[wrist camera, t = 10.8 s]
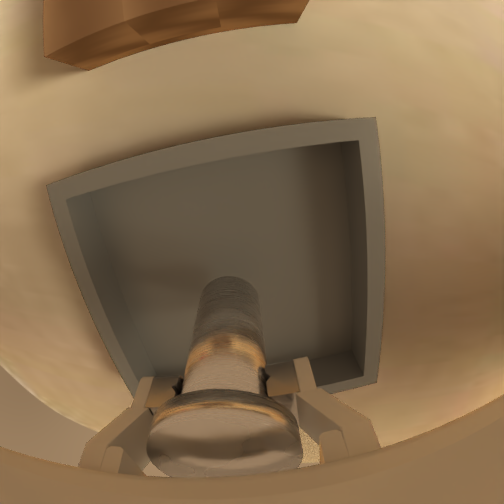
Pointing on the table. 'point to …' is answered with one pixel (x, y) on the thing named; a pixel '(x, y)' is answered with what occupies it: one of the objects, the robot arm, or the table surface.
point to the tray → (236, 246)
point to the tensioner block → (147, 24)
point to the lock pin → (225, 396)
